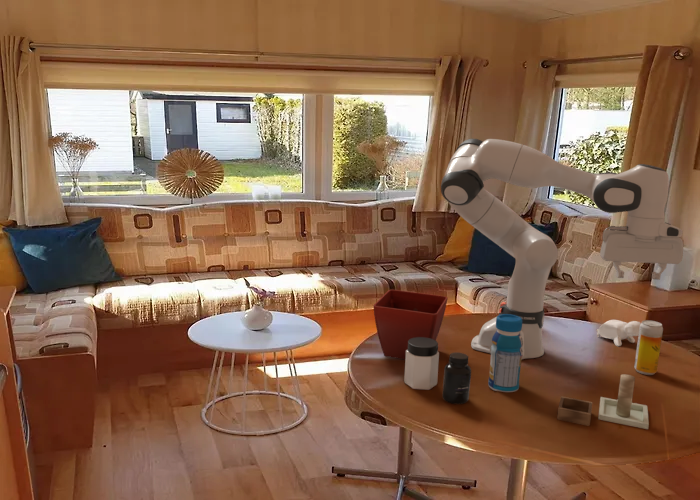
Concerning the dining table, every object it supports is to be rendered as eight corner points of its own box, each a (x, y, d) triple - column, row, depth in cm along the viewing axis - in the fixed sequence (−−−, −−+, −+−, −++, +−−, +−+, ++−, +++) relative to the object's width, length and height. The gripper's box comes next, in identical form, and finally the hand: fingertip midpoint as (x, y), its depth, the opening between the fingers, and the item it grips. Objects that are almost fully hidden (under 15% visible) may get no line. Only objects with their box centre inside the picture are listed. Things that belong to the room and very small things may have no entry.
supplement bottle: (462, 407, 156) (466, 362, 154) (437, 400, 160) (440, 356, 157) (472, 397, 162) (476, 354, 159) (448, 391, 165) (451, 348, 163)
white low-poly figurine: (596, 347, 210) (635, 345, 197) (591, 322, 211) (629, 319, 198) (613, 343, 214) (652, 341, 201) (608, 319, 215) (646, 315, 202)
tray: (598, 421, 151) (599, 414, 151) (599, 403, 161) (600, 396, 161) (647, 431, 147) (648, 424, 146) (646, 412, 157) (647, 405, 156)
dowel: (615, 415, 153) (620, 378, 151) (616, 410, 156) (620, 373, 154) (630, 418, 152) (635, 380, 150) (629, 413, 155) (634, 375, 153)
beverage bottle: (503, 396, 163) (510, 324, 159) (480, 384, 170) (486, 315, 166) (525, 390, 167) (532, 319, 163) (502, 378, 174) (509, 310, 170)
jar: (442, 387, 167) (445, 345, 165) (416, 392, 164) (419, 349, 161) (424, 374, 175) (426, 334, 173) (399, 379, 172) (401, 338, 169)
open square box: (556, 421, 150) (558, 408, 150) (559, 408, 157) (561, 396, 156) (589, 428, 148) (590, 414, 147) (590, 415, 154) (592, 402, 153)
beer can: (659, 376, 179) (666, 327, 176) (636, 374, 180) (643, 325, 177) (653, 368, 185) (660, 320, 182) (631, 366, 186) (638, 319, 183)
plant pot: (433, 369, 180) (436, 313, 176) (370, 359, 185) (372, 305, 182) (444, 347, 197) (448, 296, 194) (387, 338, 203) (389, 289, 200)
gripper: (608, 227, 159) (601, 279, 162) (689, 230, 158) (681, 283, 161) (599, 223, 166) (594, 273, 168) (678, 226, 164) (671, 277, 167)
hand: (637, 278), depth 165 cm, fingers open, 8 cm apart
